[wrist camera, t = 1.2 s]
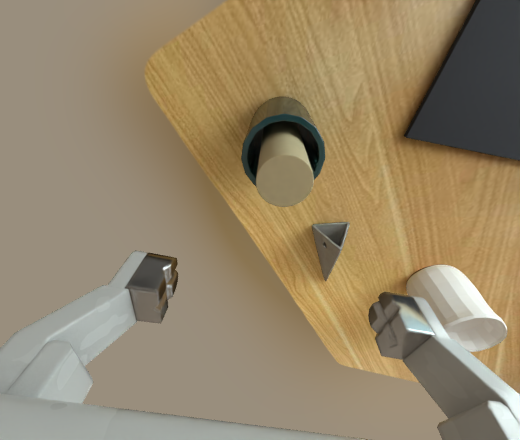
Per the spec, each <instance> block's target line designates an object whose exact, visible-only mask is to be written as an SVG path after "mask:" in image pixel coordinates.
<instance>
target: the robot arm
mask: <svg viewBox="0 0 520 440" xmlns="http://www.w3.org/2000/svg"><path fill="white" fill-rule="evenodd" d="M176 266H177V258H174V257H168V256H163V255H158V254H153V253H147V252H141V251H134V252H132V253H131V254H130V256H129V257H128V258H127V260H126V261H125V262H124V264H123V265H122V267H121V268H120V269H119V271H118V272H117V273H116V275H115V276H114V277H113V279H112V280H111V281H110V283H109V284H108V285H107V286H106V285H102V286H100V287H98V288H97V289H95V290H93V291H91V292H89V293H87V294H86V295H84V296H82V297H80V298H78V299H76V300H75V301H73V302H71V303H69V304H67V305H65V306H63V307H62V308H60V309H58V310H56V311H54V312H52V313H51V314H49V315H47V316H45V317H43V318H41V319H40V320H38V321H36V322H34V323H32V324H30V325H28V326H27V327H25V328H23V329H21V330H19V331H17V332H16V333H14V334H13V336H12V337H11V338H10V339H9V340H8V341H7V342H6V343H5V344H4V345H3V346H2V347H1V348H0V440H370V439H362V438H354V437H346V436H338V435H330V434H321V433H314V432H306V431H298V430H290V429H282V428H274V427H266V426H258V425H249V424H241V423H233V422H225V421H217V420H209V419H201V418H193V417H185V416H177V415H168V414H161V413H153V412H145V411H137V410H129V409H121V408H113V407H105V406H96V405H89V404H82V402H83V401H84V399H85V397H86V395H87V393H88V391H89V390H90V388H91V386H92V384H93V380H92V377H91V376H90V374H89V372H88V371H87V369H86V368H85V365H86V364H88V363H89V362H90V361H91V360H92V359H94V358H95V357H96V356H97V355H98V354H100V353H101V352H102V351H103V350H104V349H105V348H107V347H108V346H109V345H110V344H111V343H113V342H114V341H115V340H116V339H117V338H118V337H120V336H121V335H122V334H123V333H124V332H126V330H128V329H129V328H130V327H131V326H132V325H134V324H135V323H136V322H137V321H144V322H153V323H161V322H162V320H163V318H164V315H165V313H166V311H167V308H168V299H170V298H171V297H172V296H173V294H174V292H175V289H176V285H177V281H178V272H177V271H176V270H175V269H176ZM378 298H379V301H378V302H376V303H373V304H372V306H371V307H370V309H369V315H368V316H369V322H370V325H371V327H372V328H373V330H374V331H375V332H376V333H377V334H376V337H375V339H376V342H377V345H378V348H379V350H380V353H381V356H385V357H390V358H396V359H402V360H403V362H404V363H405V365H406V366H407V367H408V368H409V370H410V371H411V372H412V373H413V375H414V376H415V377H416V378H417V380H418V381H419V382H420V383H421V385H422V386H423V387H424V388H425V390H426V391H427V392H428V393H429V395H430V396H431V397H432V398H433V400H434V401H435V402H436V403H437V404H438V406H439V407H440V408H441V409H442V411H443V412H444V413H445V415H446V416H447V417H448V418H449V419H447V420H445V421H443V422H440V423H439V424H438V427H437V428H438V430H439V433H440V435H441V437H442V440H520V395H519V394H518V393H517V392H516V391H515V390H513V389H512V388H511V387H510V386H509V385H507V384H506V383H505V382H504V381H503V380H502V379H500V378H499V377H498V376H497V375H496V374H494V373H493V372H492V371H491V370H490V369H489V368H487V367H486V366H485V365H484V364H483V363H481V362H480V361H479V360H478V359H477V358H476V357H474V356H473V355H472V354H471V353H470V352H469V351H467V350H466V349H465V348H464V347H463V346H461V345H460V344H459V343H458V342H457V341H456V340H454V339H450V338H449V336H448V334H447V333H446V331H445V330H444V328H443V326H442V325H441V323H440V321H439V320H438V318H437V317H436V315H435V313H434V312H433V310H432V309H431V307H430V305H429V304H428V302H427V301H426V300H425V299H424V298H422V297H416V296H409V295H404V294H397V293H391V292H383V293H381V294H380V295H379V297H378Z"/></svg>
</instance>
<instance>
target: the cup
mask: <svg viewBox="0 0 520 440" xmlns="http://www.w3.org/2000/svg"><path fill="white" fill-rule="evenodd" d="M406 290H407V294H408V295H409V296H416V297H422V298H424V299H425V300H426V301H427V302H428V304H429V305H430V307H431V309H432V310H433V312H434V313H435V315H436V317H437V318H438V320H439V321H440V323H441V325H442V326H443V328H444V330H445V331H446V333H447V334H448V336H449V338H450V339H454V340H456V341H457V342H458V343H459V344H460V345H461V346H463V347H464V348H465V349H466V350H467V351H469V352H473V351H481V350H484V349H488V348H491V347H493V346H495V345H497V344H499V343H501V342H502V341H503V340H504V339H505V338H506V336H507V327H506V325H505V323H504V322H503V320H502V319H501V318H500V317H499V316H498V315H496V314H495V313H494V311H493V310H492V309H491V308H490V307H489V306H488V304H487V303H486V302H485V300H484V299H483V297H482V296H481V294H480V293H479V291H478V290H477V289H476V288H475V286H474V285H473V284H472V283H471V282H470V281H469V279H468V278H467V277H466V276H465V275H464V274H463V273H462V272H461V271H459V270H458V269H456V268H454V267H452V266H449V265H443V264H442V265H433V266H430V267H427V268H424V269H422V270H420V271H418V272H416V273H415V274H414V275H412V276H411V277H410V278H409V280H408V281H407V285H406Z"/></svg>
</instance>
